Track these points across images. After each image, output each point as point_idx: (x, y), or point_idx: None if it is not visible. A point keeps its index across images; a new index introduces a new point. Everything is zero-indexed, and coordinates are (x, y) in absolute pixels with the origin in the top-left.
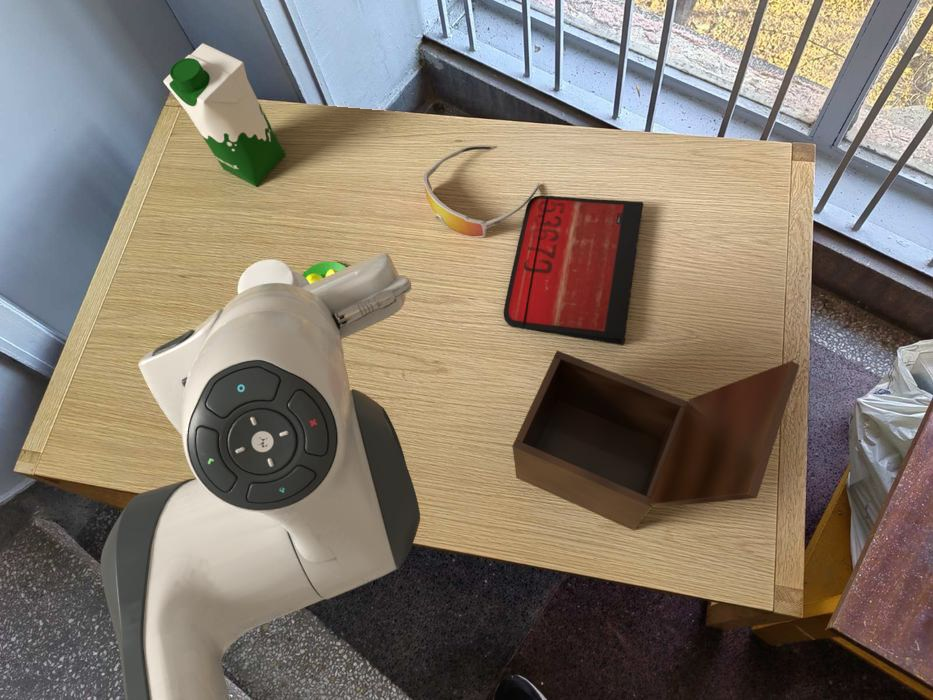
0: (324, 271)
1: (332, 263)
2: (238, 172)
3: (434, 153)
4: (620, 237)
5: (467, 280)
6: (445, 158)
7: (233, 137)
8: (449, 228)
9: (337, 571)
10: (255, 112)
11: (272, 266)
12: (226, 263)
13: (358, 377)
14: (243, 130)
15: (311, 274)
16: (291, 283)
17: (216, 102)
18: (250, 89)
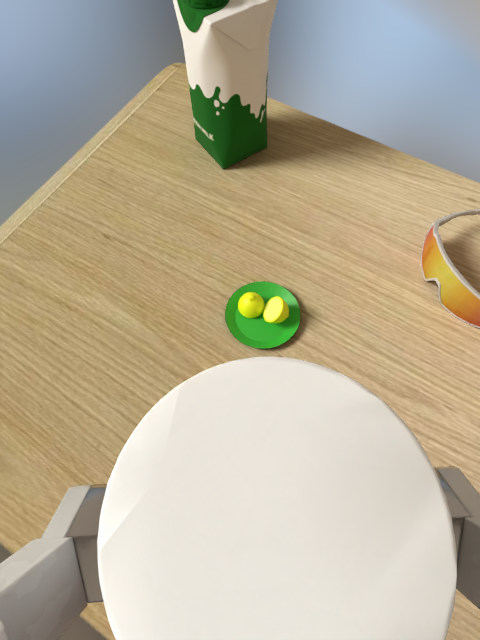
0: (267, 293)
1: (280, 288)
2: (211, 145)
3: (438, 203)
4: None
5: (448, 379)
6: (461, 213)
7: (225, 96)
8: (440, 301)
9: None
10: (261, 76)
11: (337, 420)
12: (158, 240)
13: None
14: (239, 92)
15: (252, 293)
16: (448, 618)
17: (225, 34)
18: (268, 44)
